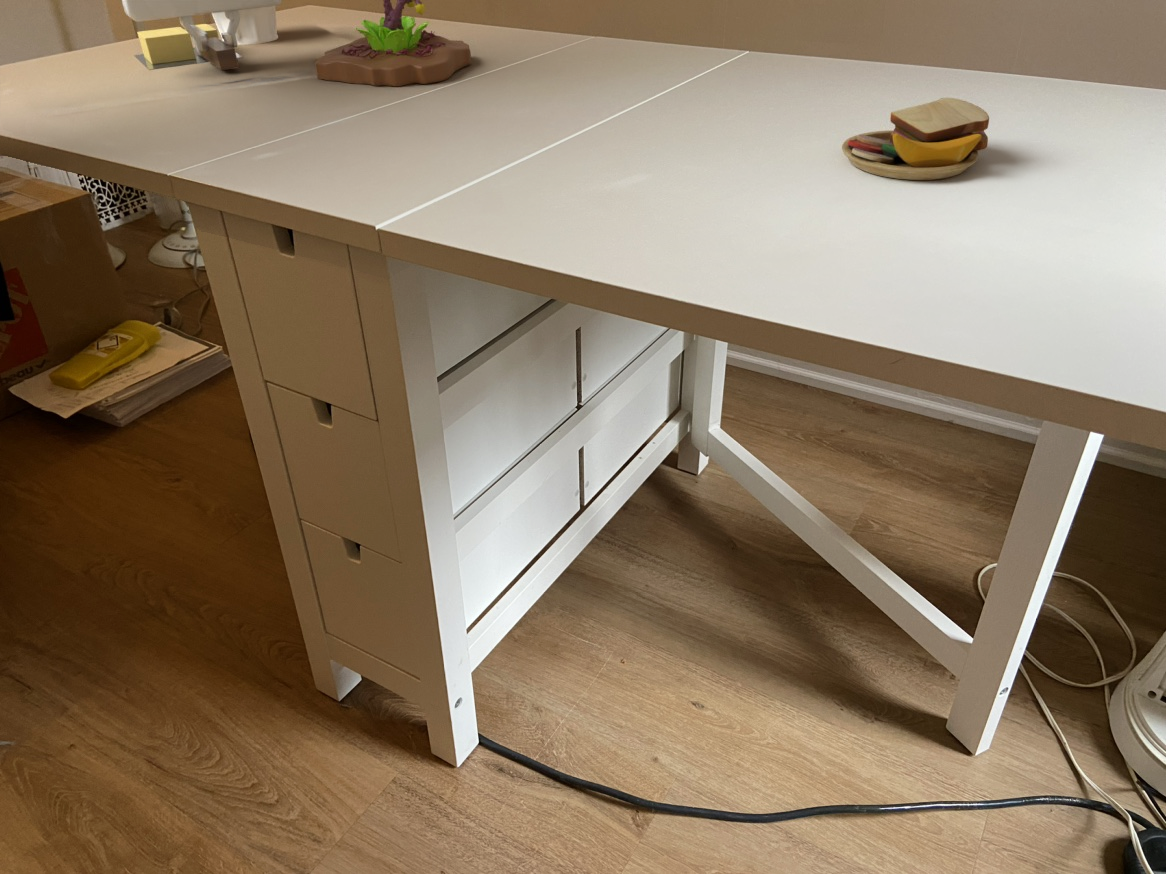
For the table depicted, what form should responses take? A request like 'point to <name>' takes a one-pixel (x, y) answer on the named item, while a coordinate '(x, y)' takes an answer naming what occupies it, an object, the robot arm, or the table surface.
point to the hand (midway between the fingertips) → (217, 49)
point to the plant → (394, 53)
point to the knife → (218, 52)
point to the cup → (251, 25)
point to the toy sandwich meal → (923, 142)
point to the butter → (166, 45)
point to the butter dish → (173, 64)
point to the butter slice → (208, 30)
